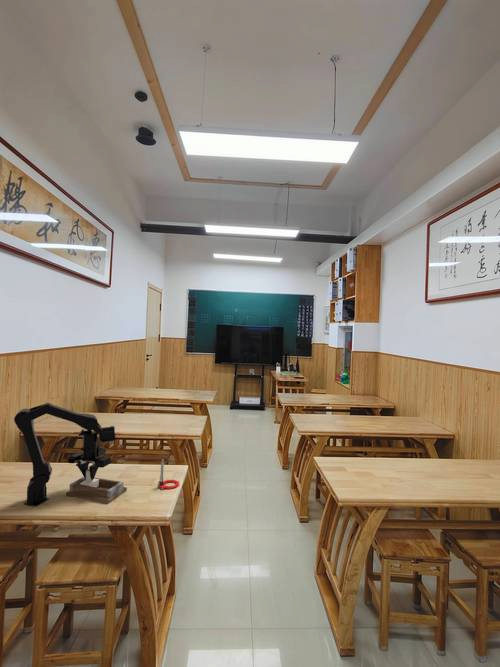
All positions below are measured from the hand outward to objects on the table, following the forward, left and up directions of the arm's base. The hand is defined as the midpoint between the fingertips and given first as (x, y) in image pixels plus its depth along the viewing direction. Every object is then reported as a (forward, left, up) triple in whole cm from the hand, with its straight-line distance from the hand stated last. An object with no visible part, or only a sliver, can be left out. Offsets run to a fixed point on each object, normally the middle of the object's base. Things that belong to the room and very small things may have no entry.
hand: (89, 479), depth 146 cm
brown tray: (0, -4, -6) cm, 7 cm away
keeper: (0, 0, -4) cm, 4 cm away
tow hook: (+16, -30, -6) cm, 35 cm away
